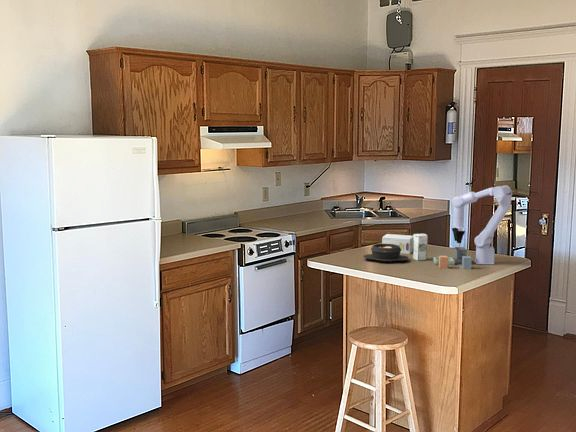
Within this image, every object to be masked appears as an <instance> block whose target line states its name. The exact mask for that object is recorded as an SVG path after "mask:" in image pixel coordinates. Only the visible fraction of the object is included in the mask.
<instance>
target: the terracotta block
mask: <svg viewBox="0 0 576 432" xmlns="http://www.w3.org/2000/svg"><path fill="white" fill-rule="evenodd" d="M438 257H439V265H438V268H439V269H447V270H448V268H449V265H448V257H449V256H447V255H439V256H438Z"/></svg>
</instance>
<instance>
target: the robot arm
mask: <svg viewBox="0 0 576 432" xmlns="http://www.w3.org/2000/svg"><path fill="white" fill-rule="evenodd" d="M487 196H491V197H494V198H495V200H496V201H497V203H498V206H497V209H496V210H495V211H494V213H493V215H492V216H491V218H490V220H489V221H488V223H487V224H486V226H485V227H484V229H483V230H482V231H481V232H480V233H479V235H476V237H474V245H475V260H473V262H474V263H475V264H476V265H495V247H494V246H493V247H492V246H491V244H492V243H493V240H494V239H493V238H494V236H495V232H496V230H498V227H499V225H500V224H501V222H502V221H503V219H504V217H505V216H506V215H507V212H509V210H510V208H511V206H512V196H513V191H512V189H511V187H510V186H509V185H506V184H505V185H502V186H501V185H500V186H499V185H498V186H495V187H493V186H492V187H489V188H486V189H483V190H480V191H478V192H475V191H471V190H470V191H467V193H465V194H463V193H462V194H460V195H458V196H454V197H453V198H452V200H451V201H452V202H451V203H452V206H453V218H452V222H453V223H452V225H450V227H451V230H452V233H453V239H454V241H455V242H456V243H457V244H462V241H463V237H464V235H465V233H466V231H465V230H463V228H465V225H464V224H465V206H467V205H470V204H473V203H475V202H477V201H478V200H479V199H480V198H485V197H487Z"/></svg>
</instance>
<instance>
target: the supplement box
mask: <svg viewBox="0 0 576 432" xmlns="http://www.w3.org/2000/svg"><path fill="white" fill-rule="evenodd" d="M413 238H414V235H409V234H408V235H406V234H405V235H404V234H393V233H386V234H385V235H383V236H382V238H381V244H395V245H399V246H400V249H401V252H400V254H404V255H405V254H407V255H410V254H411V253H413Z"/></svg>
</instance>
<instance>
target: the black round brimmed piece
mask: <svg viewBox="0 0 576 432" xmlns="http://www.w3.org/2000/svg"><path fill="white" fill-rule="evenodd" d="M370 251H371V253H369V254H368V253H367V254H364V255H363V256H362V257H363V258H364V259H366V260H374V261H376V262H379V263H394V262H397V261H407V260H408V259H409V256H407V255H401V253H400V252H401V249H400V246H399V245H395V244H382V243H376V244H373V245H372V246H371V248H370Z"/></svg>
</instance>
